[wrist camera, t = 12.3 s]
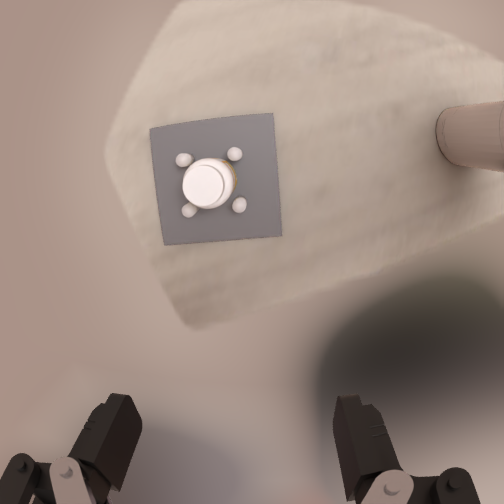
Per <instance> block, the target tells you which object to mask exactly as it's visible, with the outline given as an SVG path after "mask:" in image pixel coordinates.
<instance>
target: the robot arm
mask: <svg viewBox="0 0 504 504" xmlns="http://www.w3.org/2000/svg"><path fill="white" fill-rule="evenodd" d="M436 134H437V140H438V144H439V147H440V149H441V151H442V153H443V154H444V156H445V157H446V158H447V159H448V160H449V161H450V162H452V163H453V164H456V165H461V166H468V167H474V168H481V169H487V170H493V171H498V172H504V101H500V102H491V103H482V104H475V105H467V106H460V107H453V108H449V109H446V110H445V111H443V112H442V113H441V115H440V116H439V119H438V121H437V127H436ZM141 432H142V420H141V417H140V415H139V413H138V411H137V409H136V407H135V405H134V402H133V400H132V398H131V397H130V396H129V395H123V394H115V393H112V394H110V396H109V397H108V399H107V401H106V403H105V404H103V403H101V404H100V405H99V406H97V407H96V408H95V409H94V410H93V411H92V413H91V415H90V416H89V418H88V422H86V424H85V425H84V429H82V431H81V433H80V435H79V437H78V438H77V440H76V442H75V444H74V446H73V448H72V450H71V452H70V453H69V455H68V456H67V457H61V458H58V459H56V460H55V461H54V462H53V463H39V462H35V461H34V460H33V459H32V458H31V457H30V456H29V455H27V454H24V453H20V454H17V455H15V456H14V457H12V459H11V460H10V462H9V464H8V466H7V468H6V469H5V471H4V473H3V476H2V477H1V479H0V504H29V502H30V499H31V497H32V495H35V498H34V501H33V503H32V504H112V501H111V499H110V497H109V495H108V493H109V491H110V489H111V490H115V491H118V492H120V490H121V487H122V484H123V481H124V478H125V476H126V472H127V470H128V467H129V464H130V461H131V459H132V456H133V453H134V451H135V448H136V445H137V443H138V440H139V437H140V435H141ZM333 434H334V438H335V444H336V448H337V453H338V458H339V463H340V468H341V473H342V478H343V483H344V488H345V494H346V499H347V501H352V500H355V501H356V504H480V501H479V498H478V495H477V492H476V489H475V486H474V484H473V481H472V479H471V476H470V475H469V473H468V472H467V471H466V470H464V469H462V468H458V467H455V468H450V469H447V470H445V471H444V472H443V473H442V474H441V475H440V476H432V477H415V476H412V475H409V474H407V473H406V472H404V471H403V469H402V468H401V467H400V465H399V462H398V460H397V456H396V454H395V451H394V448H393V445H392V443H391V440H390V437H389V435H388V433H387V429H386V427H385V426H384V421H383V419H382V416H381V413H380V412H379V411H378V410H377V409H376V408H375V407H374V406H373V405H372V404H370V405H364V406H362V403H361V400H360V397H359V395H358V394H357V393H356V394H349V395H342V396H338V397H337V401H336V406H335V412H334V418H333Z"/></svg>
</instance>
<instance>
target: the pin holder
mask: <svg viewBox="0 0 504 504" xmlns="http://www.w3.org/2000/svg"><path fill="white" fill-rule="evenodd" d="M150 140H151V150H152V160H153V169H154V178H155V186H156V194H157V201H158V208H159V215H160V222H161V228H162V234H163V240H164V245H176V244H187V243H200V242H212V241H224V240H237V239H250V238H264V237H277V236H282V225H281V209H280V194H279V180H278V166H277V154H276V141H275V130H274V118H273V113H265V114H252V115H240V116H230V117H221V118H213V119H205V120H198V121H191V122H185V123H179V124H173V125H167V126H162V127H157V128H151V129H150ZM204 158H220V159H223V160H226V161H227V162H229V163H230V164H231V165H232V166H233V167H234V169H235V171H236V174H237V184H236V187H235V189H234V191H233V192H232V194H231V195H230V197H229V198H228V199H227V200H226V202H224V203H223V204H222V205H220V206H218V207H216V208H212V209H204V208H200V207H197V206H195V205H194V204H192V203H191V202H190V201H189V200H188V199H187V198H186V197H185V195H184V192H183V177H184V174H185V172H186V170H187V169H188V168H189V166H190V165H191V164H193V163H194V162H196V161H198V160H200V159H204Z"/></svg>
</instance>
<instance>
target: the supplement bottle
mask: <svg viewBox="0 0 504 504" xmlns="http://www.w3.org/2000/svg"><path fill="white" fill-rule="evenodd" d="M236 184H237V174H236V171H235V169H234V167H233V166H232V165H231V164H230V163H229V162H227V161H226V160H223V159H220V158H204V159H200V160H198V161H196V162H194V163H193V164H191V165H190V166H189V168H188V169H187V170H186V172H185V174H184V177H183V192H184V195H185V197H186V198H187V199H188V200H189V201H190V202H191V203H192V204H194V205H195V206H197V207H200V208H204V209H212V208H216V207H218V206H220V205H222V204H223V203H224V202H226V200H227V199H228V198H229V197H230V195H231V194H232V192H233V191H234V189H235V187H236Z"/></svg>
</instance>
